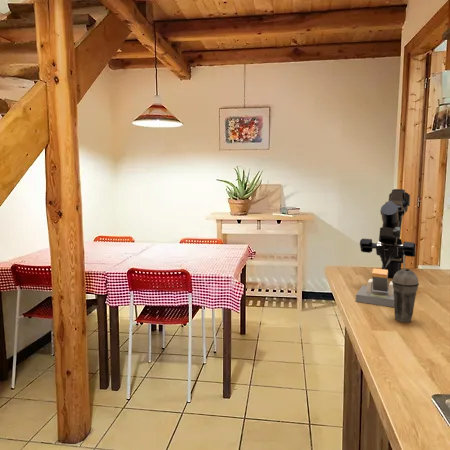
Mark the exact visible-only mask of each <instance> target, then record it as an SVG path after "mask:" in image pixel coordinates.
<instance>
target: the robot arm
mask: <svg viewBox="0 0 450 450" xmlns="http://www.w3.org/2000/svg"><path fill="white" fill-rule="evenodd" d="M410 206H411V195H410V194H409V193H408V192H406V190H405V189H403V188H394V189H392V190H391V192H390V193H389V195H388V200H387V201H385V203H384V204H383V205H381V207H380V216H381V220H382V226H381V227H380V228H379V236H378V241H376V242H373V240H372V238H361V239H360V241H359V246H360V247H359V248H360V251H361V253H368V254H370V253H372V252H373V250H375V253H376V256H379V258H380V261H381V263H382V264H381V269H385V270H388V279H391V278H392V279H393V277H394V275H395V273H396V272H398V271H399V270H401V269H402V264H403V255H405V257H410V258H414V257H416V253H417V252H416V251H417V249H416V247H417V245H416V244H417V243H415V241H402V238H401V231H402V225H403V218H404V216H405V214H406V213H407V212H408V210H409V209H408V208H409V207H410Z"/></svg>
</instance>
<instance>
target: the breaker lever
mask: <svg viewBox="0 0 450 450" xmlns="http://www.w3.org/2000/svg"><path fill="white" fill-rule="evenodd" d="M371 274H372V275H371V276H372V279H373V290H377V291H385V292H387V291H388V288H389V278H388V270H385V269H382V268H372V273H371Z"/></svg>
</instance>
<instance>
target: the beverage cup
mask: <svg viewBox="0 0 450 450" xmlns="http://www.w3.org/2000/svg"><path fill="white" fill-rule="evenodd" d="M402 267H403V268H401V270H399V271H398V272H396V273H395V275H394V277H393V278H392V282H393V289H394V307H393V308H394V309H393V310H394V319H395V321H397V322H400V323H406V324H407V323H411V322H412V319H413V313H414V308H415V307H414V306H415V303H416V302H415V301H416V296H417V291H418V288H419V285H420V284H419V278H418V275H417V274H416V273H415V272H414V271H413V270H411V269H409V268H408V269H407V268H406V256H405V255H403V263H402Z"/></svg>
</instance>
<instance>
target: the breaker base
mask: <svg viewBox="0 0 450 450" xmlns="http://www.w3.org/2000/svg"><path fill="white" fill-rule="evenodd" d="M392 281H393V280H392ZM392 281H391V280H390V282H388V291H387V292H385V291H377V290H373V278H369V279H368V281H367V285H365V284H363V285H361V287H360V288H359V289H358V291H357V293H355V302H356V303H362V304H370V305H375V306H383V307H389V308H394V289H393V282H392Z"/></svg>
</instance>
